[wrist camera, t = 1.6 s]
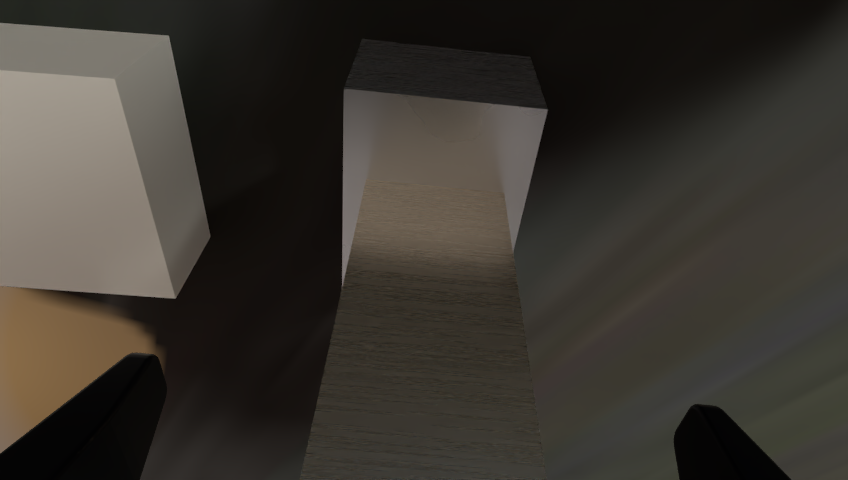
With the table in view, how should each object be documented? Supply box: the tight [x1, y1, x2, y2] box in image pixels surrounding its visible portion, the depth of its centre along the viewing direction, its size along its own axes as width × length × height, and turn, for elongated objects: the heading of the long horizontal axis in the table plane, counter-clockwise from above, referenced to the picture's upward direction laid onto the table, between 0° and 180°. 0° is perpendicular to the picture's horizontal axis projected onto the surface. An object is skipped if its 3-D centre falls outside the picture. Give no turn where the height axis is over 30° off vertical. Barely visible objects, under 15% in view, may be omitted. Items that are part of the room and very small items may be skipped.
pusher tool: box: [300, 39, 548, 480], centre depth 12 cm, size 4×7×10 cm, turn 175°
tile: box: [0, 23, 211, 299], centre depth 14 cm, size 6×6×3 cm
